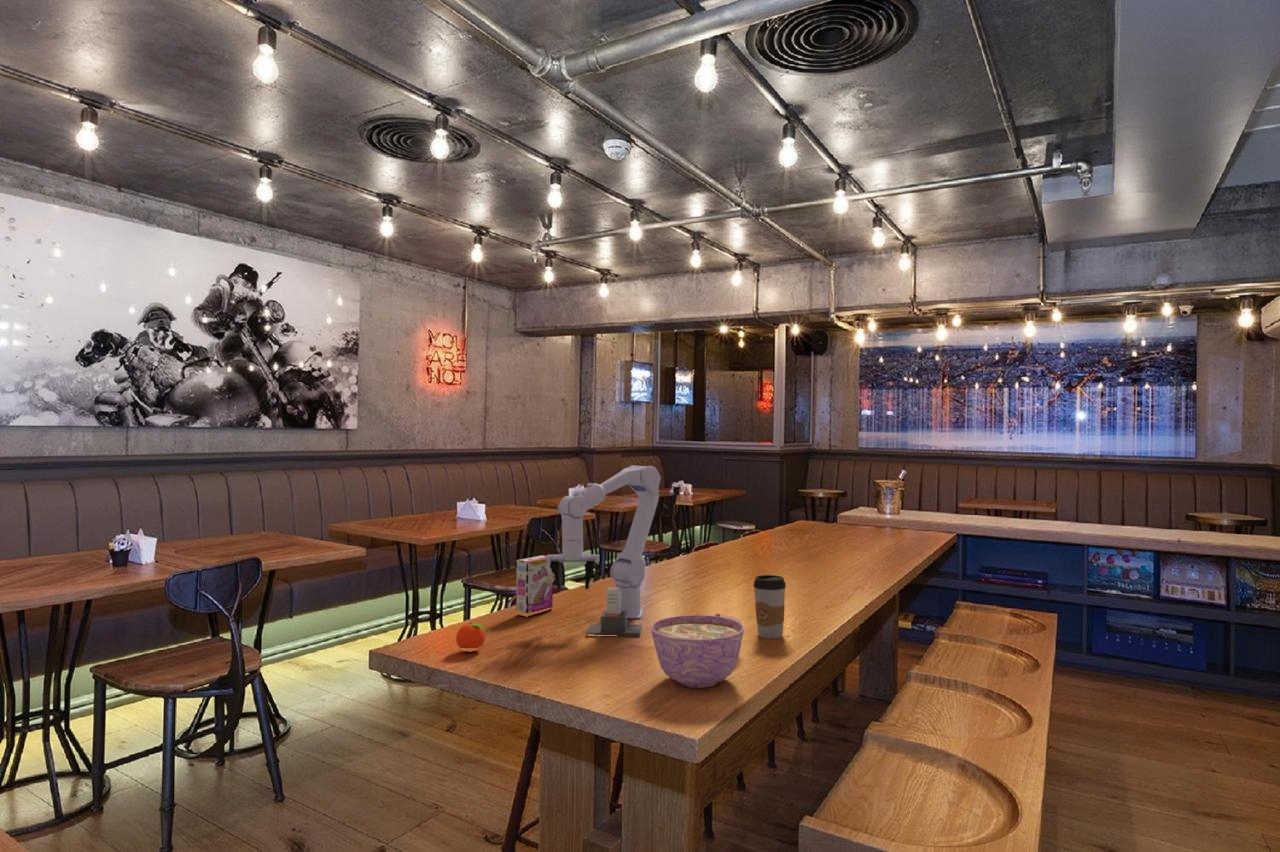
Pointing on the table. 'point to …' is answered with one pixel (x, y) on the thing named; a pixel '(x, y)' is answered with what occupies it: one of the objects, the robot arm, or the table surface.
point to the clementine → (470, 636)
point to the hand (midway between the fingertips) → (573, 588)
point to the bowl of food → (697, 648)
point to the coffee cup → (769, 605)
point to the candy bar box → (533, 584)
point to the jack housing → (615, 626)
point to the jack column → (614, 601)
